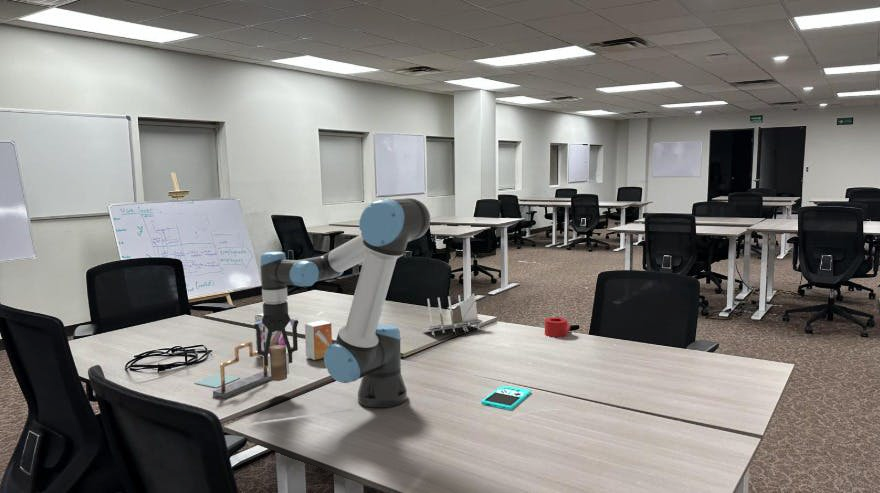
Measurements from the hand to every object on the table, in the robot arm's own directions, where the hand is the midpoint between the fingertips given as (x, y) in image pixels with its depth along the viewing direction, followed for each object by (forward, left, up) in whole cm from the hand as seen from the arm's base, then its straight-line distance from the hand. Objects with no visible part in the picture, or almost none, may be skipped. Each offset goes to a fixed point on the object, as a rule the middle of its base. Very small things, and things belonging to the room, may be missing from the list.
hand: (278, 374), depth 186 cm
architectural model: (+48, -78, -7) cm, 92 cm away
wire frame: (+10, +10, -7) cm, 16 cm away
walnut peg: (0, 0, -1) cm, 1 cm away
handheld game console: (-28, -66, -7) cm, 72 cm away
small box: (+35, -17, -7) cm, 40 cm away
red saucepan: (+33, -120, -7) cm, 125 cm away
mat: (+19, +19, -6) cm, 28 cm away
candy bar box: (+45, 0, -7) cm, 46 cm away
